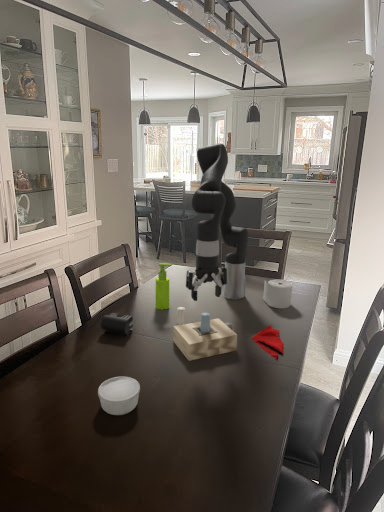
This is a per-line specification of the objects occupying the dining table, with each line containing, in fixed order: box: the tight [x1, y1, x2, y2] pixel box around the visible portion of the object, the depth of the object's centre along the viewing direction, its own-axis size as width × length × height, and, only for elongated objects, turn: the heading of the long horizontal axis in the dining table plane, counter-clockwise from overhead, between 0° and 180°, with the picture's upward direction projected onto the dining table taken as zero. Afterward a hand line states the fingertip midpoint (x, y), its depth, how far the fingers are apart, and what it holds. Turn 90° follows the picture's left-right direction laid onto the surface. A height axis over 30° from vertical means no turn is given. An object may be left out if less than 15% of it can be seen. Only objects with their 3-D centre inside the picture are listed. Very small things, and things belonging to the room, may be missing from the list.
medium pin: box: [176, 306, 186, 326], centre depth 148 cm, size 3×3×8 cm
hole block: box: [172, 317, 238, 362], centre depth 134 cm, size 18×14×6 cm
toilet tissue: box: [262, 278, 293, 309], centre depth 171 cm, size 11×12×10 cm
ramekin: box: [97, 376, 141, 416], centre depth 103 cm, size 11×11×5 cm
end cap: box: [100, 312, 134, 336], centre depth 142 cm, size 10×7×7 cm
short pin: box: [223, 321, 233, 330], centre depth 141 cm, size 3×3×5 cm
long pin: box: [200, 312, 211, 334], centre depth 133 cm, size 3×3×12 cm
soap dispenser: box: [155, 262, 173, 311], centre depth 164 cm, size 6×7×20 cm
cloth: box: [251, 324, 285, 361], centre depth 139 cm, size 26×14×2 cm, turn 162°
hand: (206, 298), depth 130 cm, fingers open, 8 cm apart
